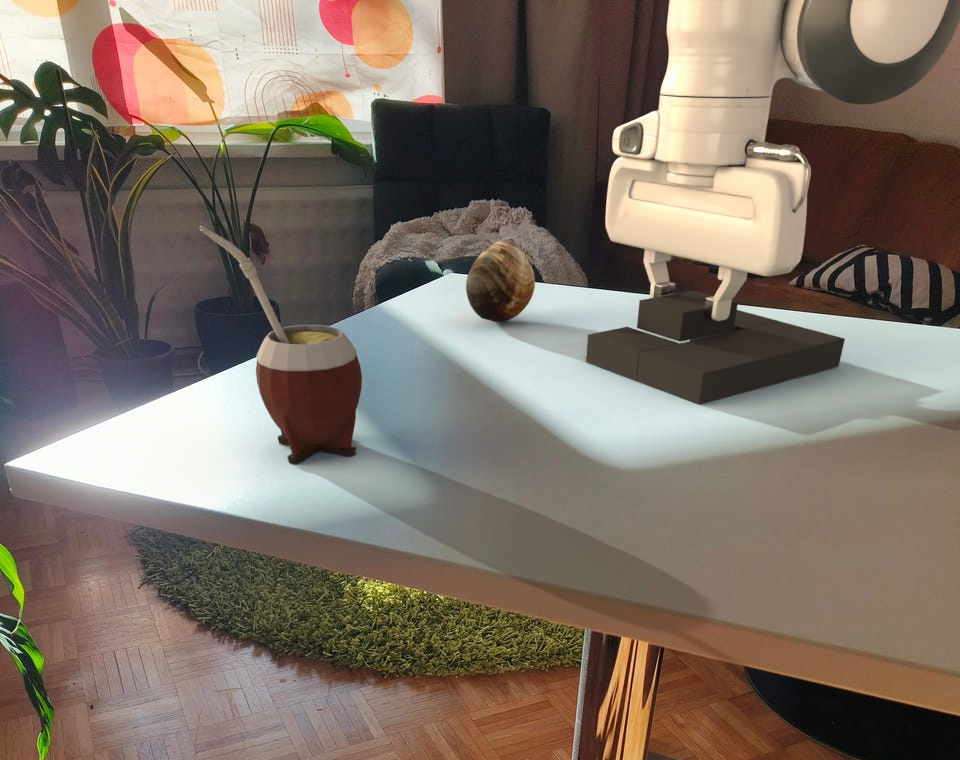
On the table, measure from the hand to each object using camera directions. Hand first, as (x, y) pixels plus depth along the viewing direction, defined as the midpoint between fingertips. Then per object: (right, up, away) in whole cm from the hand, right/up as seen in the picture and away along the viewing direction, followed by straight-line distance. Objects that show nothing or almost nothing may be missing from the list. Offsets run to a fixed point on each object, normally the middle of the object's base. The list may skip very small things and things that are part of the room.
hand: (687, 310), depth 81 cm
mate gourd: (-31, -17, -17) cm, 39 cm away
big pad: (+2, -5, 0) cm, 5 cm away
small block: (0, -1, +1) cm, 2 cm away
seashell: (-17, +3, +12) cm, 21 cm away
